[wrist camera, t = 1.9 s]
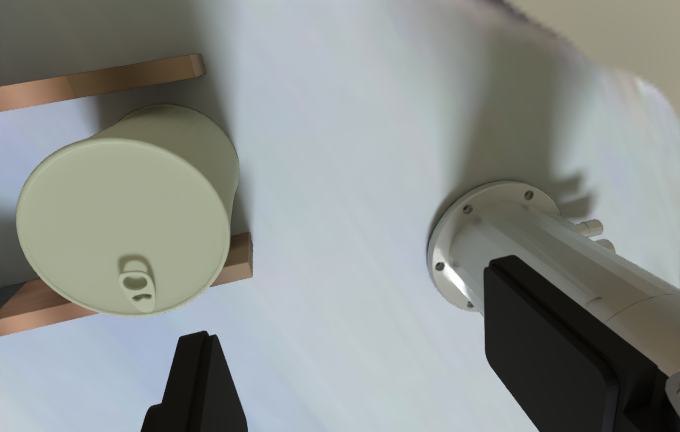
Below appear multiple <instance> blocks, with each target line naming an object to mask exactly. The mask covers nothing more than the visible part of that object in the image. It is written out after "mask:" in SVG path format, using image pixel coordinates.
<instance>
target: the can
mask: <svg viewBox="0 0 680 432" xmlns="http://www.w3.org/2000/svg"><path fill="white" fill-rule="evenodd" d="M238 183H239V162H238V158H237V155H236V152H235V149H234V147H233V145H232V143H231V141H230V140H229V138H228V137H227V135H226V134H225V133H224V132H223V130H222V129H221V128H220V127H219V126H218V125H217V124H215V123H214V122H213V121H212V120H210V119H209V118H208V117H206V116H204V115H203V114H201V113H199V112H197V111H195V110H192V109H189V108H186V107H182V106H178V105H170V104H159V105H151V106H147V107H143V108H140V109H138V110H135V111H133V112H131V113H130V114H128V115H126V116H125V117H124V118H122V119H121V120H120V121H119V122H118V123H116V124H115V125H113V126H111V127H109V128H107V129H105V130H103V131H101V132H99V133H97V134H95V135H93V136H91V137H89V138H87V139H84V140H80V141H77V142H74V143H72V144H69V145H67V146H64V147H62V148H61V149H59V150H57V151H55V152H54V153H52V154H51V155H49V156H48V157H47V158H45V159H44V160H43V161H42V162H41V163H40V164H39V165H38V166H37V167H36V168H35V169H34V170H33V172H32V173H31V174H30V176H29V177H28V179H27V180H26V182H25V184H24V186H23V188H22V191H21V193H20V196H19V199H18V203H17V210H16V228H17V234H18V238H19V242H20V245H21V247H22V250H23V252H24V254H25V256H26V258H27V260H28V262H29V263H30V265H31V266H32V268H33V269H34V270H35V272H36V273H37V274H38V275H39V276H40V278H41V279H42V280H43V281H44V282H45V283H46V284H47V285H48V286H50V287H51V288H52V289H53V290H54V291H56V292H57V293H58V294H60V295H61V296H63V297H64V298H66V299H68V300H70V301H71V302H73V303H75V304H77V305H80V306H82V307H84V308H86V309H89V310H92V311H95V312H99V313H103V314H107V315H113V316H121V317H146V316H153V315H158V314H162V313H166V312H169V311H172V310H175V309H177V308H180V307H182V306H184V305H186V304H188V303H189V302H191V301H193V300H194V299H196V298H197V297H198V296H200V295H201V294H202V293H203V292H204V291H206V290H207V289H208V288H209V287H210V285H211V284H212V283H213V282H214V281H215V279H216V278H217V277H218V275H219V273H220V272H221V270H222V268H223V266H224V264H225V261H226V259H227V255H228V252H229V247H230V222H231V214H232V207H233V200H234V196H235V194H236V191H237V188H238Z"/></svg>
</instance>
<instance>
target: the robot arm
mask: <svg viewBox="0 0 680 432" xmlns="http://www.w3.org/2000/svg"><path fill="white" fill-rule="evenodd" d="M602 232H603V225H602V223H601V222H600V221H599V220H597V219H593V220H589V221H585V222H581V223H580V224H574V223H572V222H570V221H568V220H566V219H564V218H563V217H561V215H560V212H559V210H558V208H557V206H556V205H555V203H554V201H553V200H552V199H551V198H550V197H549V196H548V195H547V194H546V193H544V192H542V191H541V190H539V189H537V188H536V187H533V186H531V185H529V184H526V183H523V182H518V181H513V180H511V181H496V182H492V183H487V184H485V185H482V186H480V187H477V188H475V189H473V190H471V191H470V192H468V193H466V194H465V195H463V196H462V197H460V198H459V199H458V200H457V201H456V202H455V203H454V204H452V205H451V206H450V207H449V209H448V210H447V211H446V212H445V213H444V215H443V216H442V217H441V219H440V220H439V222H438V224H437V225H436V227H435V229H434V231H433V234H432V237H431V239H430V242H429V248H428V253H427V262H428V270H429V274H430V278H431V280H432V282H433V284H434V286H435V287H436V289H437V290H438V291H439V293H440V294H441V295H442V296H443V297H444V298H445V299H446V300H447V301H448V302H449V303H451V304H452V305H454V306H456V307H458V308H460V309H463V310H466V311H471V312H480V314H481V315H482V316H483V317H484V326H485V354H486V358H487V360H488V363H489V365H490V366H491V368H492V369H493V370H494V372H495V373H496V374H497V376H498V377H499V378H500V380H501V381H502V382H503V384H504V385H505V386H506V388H507V389H508V390H509V392H510V393H511V394H512V396H513V397H514V398H515V400H516V401H517V402H518V404H519V405H520V406H521V408H522V409H523V410H524V412H525V413H526V414H527V416H528V417H529V418H530V420H531V421H532V422H533V424H534V425H535V426H536V428H537V429H538V430H539V432H680V289H678V288H677V287H675V286H673V285H671V284H669V283H668V282H666V281H664V280H662V279H660V278H659V277H657V276H655V275H653V274H652V273H650V272H648V271H646V270H644V269H643V268H641V267H639V266H637V265H635V264H634V263H632V262H630V261H628V260H626V259H625V258H623V257H621V256H619V255H617V254H616V253H615V248H614V246H613V244H612V243H611V242H610V241H609V240H607V239H601V240H597V241H592V240H591V239H589V238H588V237H592V236H596V235H600V234H602ZM141 432H248V427H247V421H246V417H245V414H244V411H243V408H242V405H241V403H240V400H239V397H238V394H237V391H236V388H235V385H234V382H233V379H232V377H231V374H230V371H229V368H228V365H227V362H226V359H225V356H224V353H223V351H222V348H221V345H220V342H219V339H218V337H217V335H211V336H209V334H208V333H207V331H201V332H197V333H192V334H188V335H184V336H181V337H180V338H179V340H178V343H177V347H176V351H175V355H174V358H173V362H172V366H171V370H170V373H169V377H168V381H167V385H166V388H165V392H164V396H163V400H162V403H161V404H157V405H153V406H151V407H150V408H149V409H148V411H147V413H146V415H145V419H144V422H143V425H142V428H141Z"/></svg>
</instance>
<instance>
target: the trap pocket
mask: <svg viewBox="0 0 680 432" xmlns="http://www.w3.org/2000/svg"><path fill="white" fill-rule="evenodd" d="M25 283H26V282H24V283H19V284H15V285H10V286H6V287H1V288H0V309H1V308H2V307H3V306H4V305H5V304H6V303H7V302H8V301H9V300H10V299H11V298H12V297H13V296H14V295H15V294H16V293H17V292H18V291H19V290H20V289H21V288H22V287H23V286H24V284H25Z"/></svg>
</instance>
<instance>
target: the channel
mask: <svg viewBox="0 0 680 432" xmlns="http://www.w3.org/2000/svg"><path fill="white" fill-rule="evenodd" d="M205 73H206V72H205V68H204V65H203V61H202V57H201V54H192V55H184V56H178V57H172V58H167V59H161V60H155V61H149V62H143V63H137V64H131V65H125V66H119V67H113V68H107V69H102V70H96V71H90V72H84V73H78V74H72V75H66V76H60V77H54V78H48V79H42V80H37V81H31V82H25V83H19V84H13V85H7V86H1V87H0V112H2V111H7V110H13V109H19V108H24V107H30V106H36V105H42V104H47V103H53V102H59V101H64V100H70V99H76V98H81V97H87V96H93V95H98V94H104V93H110V92H115V91H121V90H127V89H133V88H138V87H144V86H150V85H155V84H161V83H167V82H172V81H178V80H184V79H189V78H195V77H198V76H200V75H203V74H205ZM251 277H253V245H252V241H251V237H250V234H249V233H244V234H240V235H235V236H231V237H230V247H229V252H228V255H227V259H226V261H225V264H224V266H223V268H222V270H221V272H220V273H219V275H218V277H217V278H216V279H215V281H214V282H213V283H212V284H211V285H210V287H213V286H217V285H221V284H225V283H230V282H234V281H238V280H242V279H247V278H251ZM98 313H99V312H95V311H92V310H89V309H86V308H84V307H82V306H80V305H77V304H75V303H73V302H71V301H70V300H68V299H66V298H64V297H63V296H61V295H60V294H58V293H57V292H56V291H54V290H53V289H52V288H51V287H50V286H48V285H47V284H46V283H45V282H44V281H43V280H42V279H37V280H33V281H28V282H26V283H25V284H24V286H23V287H22V288H21V289H20V290H19V291H18V292H17V293H16V294H15V295H14V296H13V297H12V298H11V299H10V300H9V301H8V302H7V303H6V304H5V305H4V306H3V307H2V308H1V309H0V336H4V335H8V334H12V333H17V332H21V331H25V330H29V329H34V328H38V327H42V326H46V325H51V324H55V323H59V322H63V321H68V320H72V319H76V318H81V317H85V316H89V315H93V314H98Z"/></svg>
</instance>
